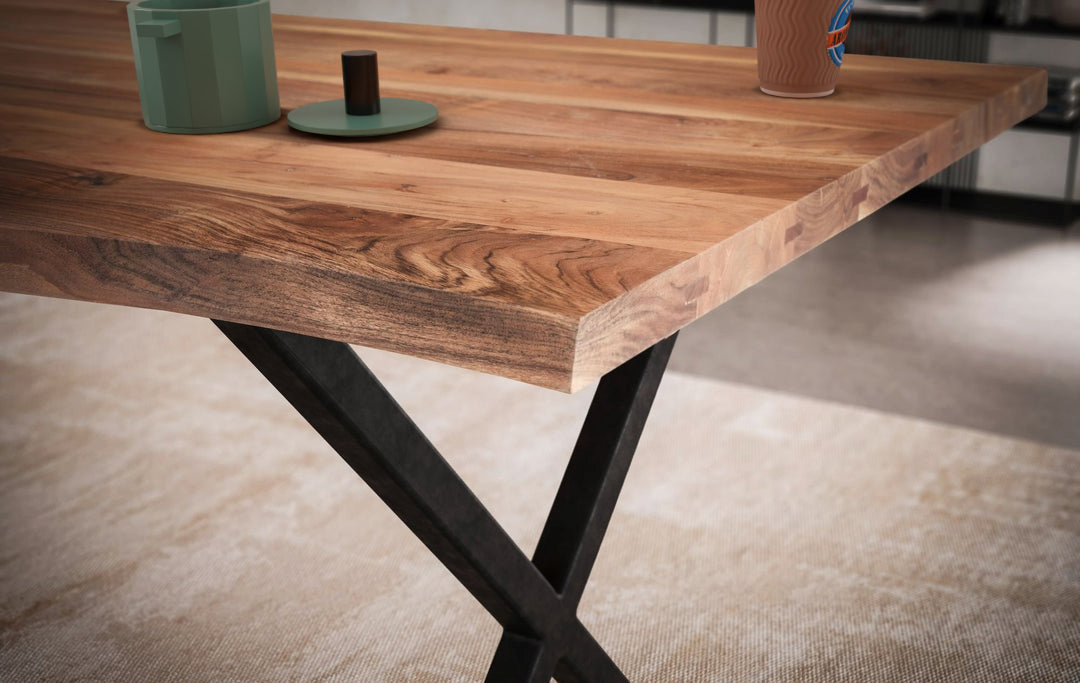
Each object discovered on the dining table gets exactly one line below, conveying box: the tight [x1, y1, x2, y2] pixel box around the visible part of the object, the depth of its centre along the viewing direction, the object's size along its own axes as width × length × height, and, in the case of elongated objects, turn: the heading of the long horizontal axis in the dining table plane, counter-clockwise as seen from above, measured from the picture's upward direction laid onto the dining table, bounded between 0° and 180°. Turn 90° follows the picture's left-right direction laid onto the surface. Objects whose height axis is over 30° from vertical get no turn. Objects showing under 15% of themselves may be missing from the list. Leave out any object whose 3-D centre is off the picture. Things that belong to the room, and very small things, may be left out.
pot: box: [126, 0, 282, 135], centre depth 101 cm, size 12×17×10 cm
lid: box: [286, 49, 440, 138], centre depth 99 cm, size 13×13×6 cm
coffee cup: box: [754, 0, 855, 99], centre depth 109 cm, size 10×10×12 cm
